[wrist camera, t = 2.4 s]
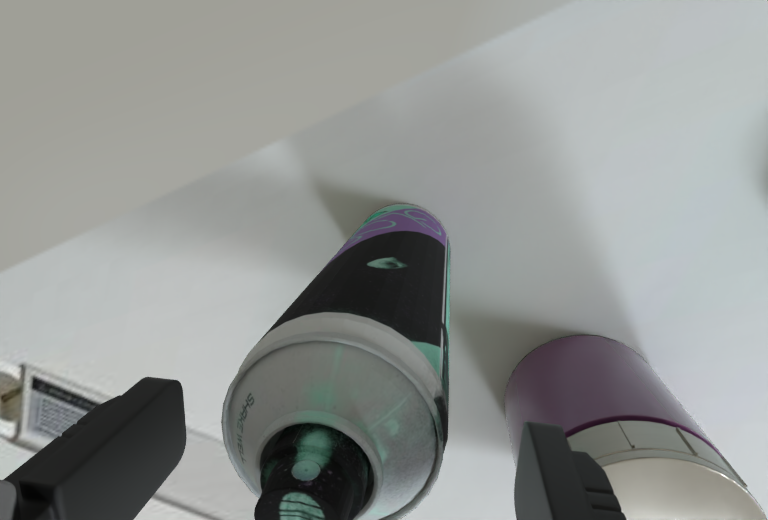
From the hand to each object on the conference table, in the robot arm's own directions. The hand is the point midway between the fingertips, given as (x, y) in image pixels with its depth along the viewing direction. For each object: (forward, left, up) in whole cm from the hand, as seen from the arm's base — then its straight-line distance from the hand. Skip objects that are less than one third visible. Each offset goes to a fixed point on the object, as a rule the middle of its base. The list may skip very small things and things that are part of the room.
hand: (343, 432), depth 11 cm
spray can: (0, 0, -18) cm, 18 cm away
